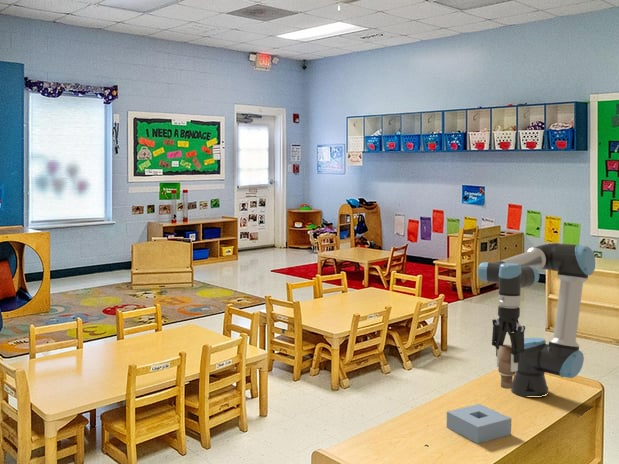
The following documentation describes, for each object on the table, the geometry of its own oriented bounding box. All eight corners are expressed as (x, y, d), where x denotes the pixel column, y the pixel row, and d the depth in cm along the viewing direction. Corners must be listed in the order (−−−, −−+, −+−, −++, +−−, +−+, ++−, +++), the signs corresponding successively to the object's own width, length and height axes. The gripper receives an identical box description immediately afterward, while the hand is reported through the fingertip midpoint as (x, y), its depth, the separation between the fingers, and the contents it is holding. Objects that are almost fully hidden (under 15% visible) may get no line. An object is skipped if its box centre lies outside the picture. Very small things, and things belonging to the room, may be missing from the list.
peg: (506, 383, 230) (507, 343, 229) (518, 388, 225) (520, 347, 224) (494, 385, 228) (495, 345, 226) (506, 390, 222) (508, 349, 221)
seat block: (479, 418, 236) (479, 403, 235) (511, 434, 222) (511, 418, 221) (446, 427, 228) (446, 411, 228) (477, 443, 214) (477, 427, 214)
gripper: (482, 302, 230) (480, 363, 232) (522, 312, 214) (519, 377, 216) (497, 300, 234) (495, 360, 236) (537, 310, 217) (535, 374, 219)
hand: (507, 368), depth 226 cm, fingers closed on peg, 6 cm apart
